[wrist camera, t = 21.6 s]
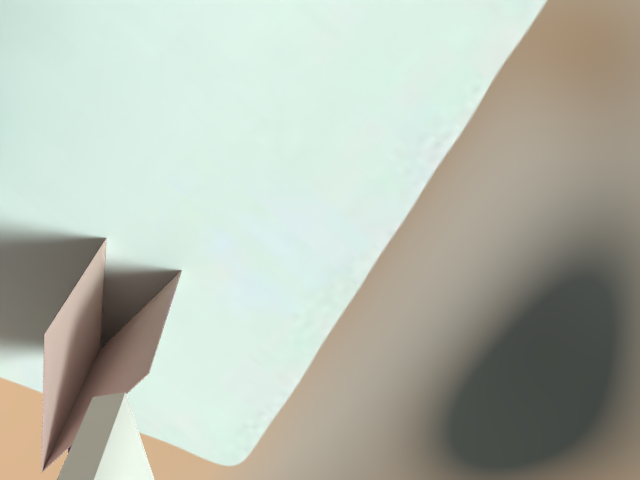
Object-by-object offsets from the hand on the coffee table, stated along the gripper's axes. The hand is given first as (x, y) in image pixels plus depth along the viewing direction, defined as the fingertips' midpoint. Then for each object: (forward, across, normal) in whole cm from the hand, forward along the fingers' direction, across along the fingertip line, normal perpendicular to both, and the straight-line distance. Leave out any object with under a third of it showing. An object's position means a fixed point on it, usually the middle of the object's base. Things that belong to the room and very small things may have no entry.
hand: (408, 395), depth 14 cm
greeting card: (+37, -20, -14) cm, 44 cm away
